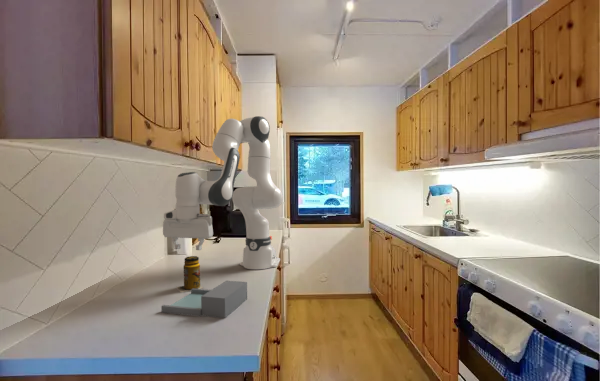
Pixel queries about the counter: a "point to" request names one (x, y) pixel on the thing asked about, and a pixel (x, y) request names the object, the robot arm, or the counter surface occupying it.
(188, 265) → the condiment
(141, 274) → the counter surface
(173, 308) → the teal-floored tray
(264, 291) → the counter surface
